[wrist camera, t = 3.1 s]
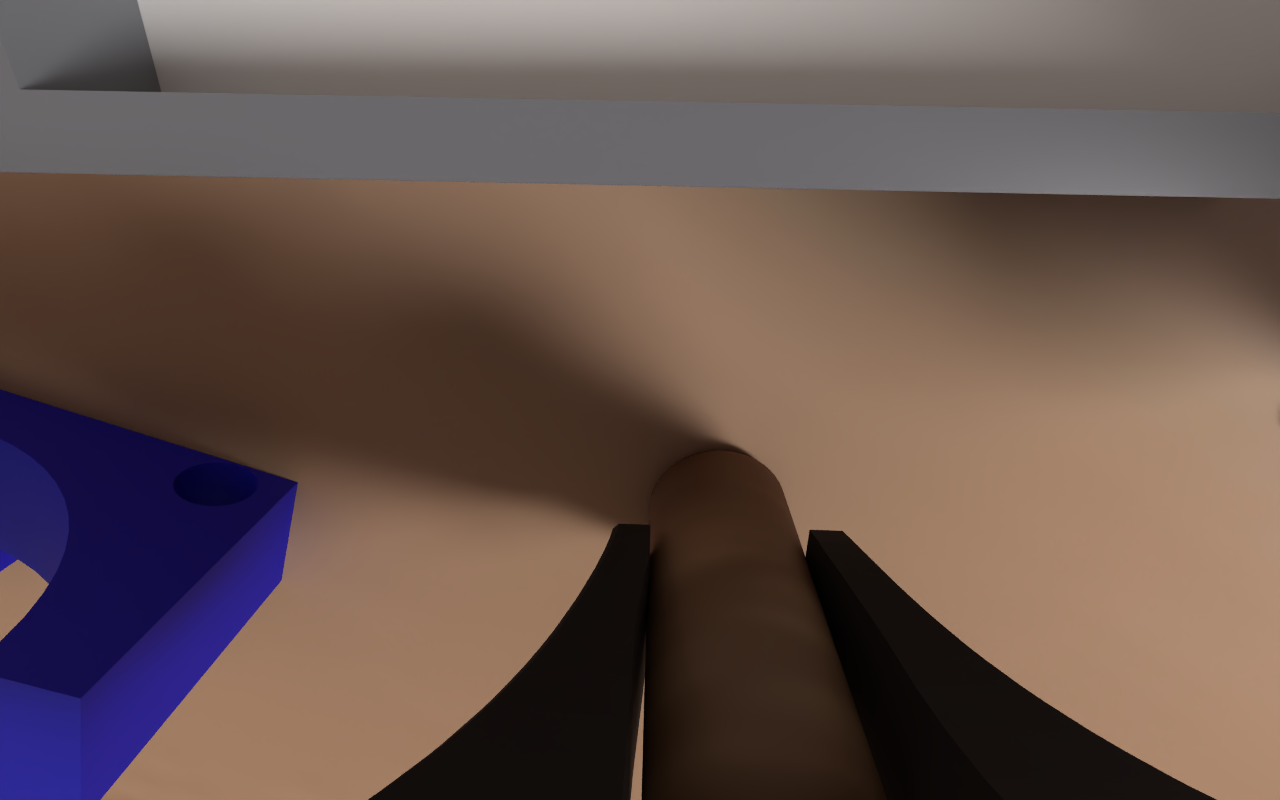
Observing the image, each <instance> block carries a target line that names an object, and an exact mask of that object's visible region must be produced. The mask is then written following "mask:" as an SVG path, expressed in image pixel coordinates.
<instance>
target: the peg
mask: <svg viewBox="0 0 1280 800" xmlns="http://www.w3.org/2000/svg"><path fill="white" fill-rule="evenodd" d="M649 525H651V527H650V569H649V596H648V605H647V618H646V654H645V692H644V730H643V769H642V800H887V798H886V795H885V792H884V789H883V786H882V783H881V780H880V777H879V774H878V771H877V768H876V765H875V762H874V759H873V756H872V754H871V751H870V748H869V745H868V742H867V739H866V736H865V733H864V730H863V727H862V724H861V721H860V718H859V715H858V712H857V709H856V706H855V703H854V700H853V697H852V694H851V691H850V688H849V685H848V682H847V679H846V676H845V674H844V671H843V668H842V665H841V662H840V659H839V656H838V653H837V650H836V647H835V644H834V641H833V638H832V635H831V632H830V629H829V626H828V623H827V620H826V617H825V614H824V611H823V608H822V605H821V602H820V599H819V596H818V594H817V591H816V588H815V585H814V582H813V579H812V576H811V573H810V570H809V567H808V564H807V561H806V558H805V555H804V552H803V549H802V546H801V543H800V540H799V537H798V534H797V531H796V528H795V525H794V522H793V519H792V517H791V514H790V511H789V508H788V505H787V502H786V499H785V496H784V493H783V490H782V488H781V485H780V483H779V481H778V480H777V478H776V477H775V475H774V474H773V473H772V472H771V471H770V470H769V469H768V468H767V467H766V466H765V465H763V464H762V463H760V462H759V461H757V460H756V459H753V458H751V457H749V456H747V455H744V454H741V453H736V452H732V451H708V452H702V453H698V454H694V455H692V456H689V457H687V458H685V459H683V460H681V461H679V462H677V463H676V464H675V465H673V466H672V467H670V468H669V469H668V470H667V471H666V472H665V473H664V474H663V475H662V477H661V478H660V479H659V481H658V482H657V484H656V485H655V488H654V490H653V492H652V495H651V499H650V506H649Z"/></svg>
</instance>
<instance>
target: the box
mask: <svg viewBox="0 0 1280 800" xmlns="http://www.w3.org/2000/svg"><path fill="white" fill-rule="evenodd" d="M0 172H18V173H66V174H114V175H162V176H211V177H259V178H307V179H355V180H403V181H451V182H499V183H547V184H595V185H643V186H691V187H739V188H787V189H835V190H883V191H931V192H979V193H1027V194H1075V195H1123V196H1172V197H1220V198H1268V199H1280V0H0Z"/></svg>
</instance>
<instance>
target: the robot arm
mask: <svg viewBox="0 0 1280 800" xmlns="http://www.w3.org/2000/svg"><path fill="white" fill-rule="evenodd" d="M650 527H651V525H637V524H618V525H617V526H616V527H614V528H613V530H612V533H611V536H610V539H609V541H608V543H607V546H606V548H605V550H604V552H603V554H602V556H601V558H600V560H599V562H598V564H597V565H596V567H595V569H594V571H593V572H592V574H591V576H590V577H589V579H588V581H587V582H586V584H585V586H584V587H583V589H582V591H581V592H580V594H579V596H578V597H577V599H576V600H575V601H574V603H573V604H572V606H571V607H570V609H569V610H568V611H567V613H566V614H565V616H564V617H563V618H562V620H561V621H560V623H559V624H558V626H557V627H556V628H555V630H554V631H553V632H552V633H551V635H550V636H549V637H548V639H547V640H546V641H545V642H544V644H543V645H542V646H541V647H540V648H539V650H538V651H537V652H536V653H535V654H534V655H533V657H532V658H531V659H530V660H529V661H528V662H527V664H526V665H525V666H524V667H523V668H522V669H521V670H520V671H519V672H518V673H517V674H516V675H515V676H514V677H513V679H512V680H511V681H510V682H509V683H508V684H507V685H506V686H505V687H504V688H503V689H502V690H501V691H500V692H499V693H498V694H497V695H496V696H495V697H494V698H493V699H492V700H491V701H490V702H489V703H488V704H487V705H486V706H485V707H484V708H483V709H482V710H480V711H479V712H478V713H477V714H476V715H475V716H474V717H472V718H471V719H470V720H469V721H468V722H467V723H466V724H464V725H463V726H462V727H461V728H460V729H459V730H458V731H456V732H455V733H454V734H453V735H452V736H451V737H450V738H448V739H447V740H446V741H445V742H444V743H443V744H442V745H440V746H439V747H438V748H437V749H435V750H434V751H433V752H432V753H431V754H429V755H428V756H427V757H425V758H424V759H423V760H421V761H420V762H419V763H417V764H416V765H415V766H413V767H412V768H411V769H409V770H408V771H407V772H405V773H404V774H403V775H401V776H400V777H399V778H397V779H396V780H395V781H393V782H392V783H391V784H389V785H388V786H386V787H385V788H384V789H382V790H381V791H380V792H378V793H377V794H375V795H374V796H373V797H371V798H370V799H368V800H630V799H631V788H632V776H633V767H634V759H635V751H636V743H637V735H638V727H639V719H640V711H641V703H642V695H643V686H644V678H645V654H646V618H647V605H648V596H649V569H650ZM806 561H807V564H808V567H809V570H810V573H811V576H812V579H813V582H814V585H815V588H816V591H817V594H818V596H819V599H820V602H821V605H822V608H823V611H824V614H825V617H826V620H827V623H828V626H829V629H830V632H831V635H832V638H833V641H834V644H835V647H836V650H837V653H838V656H839V659H840V662H841V665H842V668H843V671H844V674H845V676H846V679H847V682H848V685H849V688H850V691H851V694H852V697H853V700H854V703H855V706H856V709H857V712H858V715H859V718H860V721H861V724H862V727H863V730H864V733H865V736H866V739H867V742H868V745H869V748H870V751H871V754H872V756H873V759H874V762H875V765H876V768H877V771H878V774H879V777H880V780H881V783H882V786H883V789H884V792H885V795H886V798H887V800H1216V799H1214V798H1212V797H1210V796H1208V795H1206V794H1204V793H1202V792H1200V791H1198V790H1196V789H1194V788H1192V787H1190V786H1188V785H1186V784H1184V783H1182V782H1180V781H1178V780H1176V779H1174V778H1173V777H1171V776H1169V775H1167V774H1165V773H1163V772H1162V771H1160V770H1158V769H1156V768H1154V767H1153V766H1151V765H1149V764H1147V763H1145V762H1144V761H1142V760H1140V759H1138V758H1136V757H1134V756H1133V755H1131V754H1129V753H1127V752H1125V751H1124V750H1122V749H1120V748H1119V747H1117V746H1115V745H1113V744H1112V743H1110V742H1108V741H1107V740H1105V739H1103V738H1102V737H1100V736H1098V735H1096V734H1095V733H1093V732H1091V731H1090V730H1088V729H1086V728H1085V727H1083V726H1082V725H1080V724H1079V723H1077V722H1075V721H1074V720H1072V719H1071V718H1069V717H1068V716H1066V715H1064V714H1063V713H1061V712H1060V711H1058V710H1057V709H1055V708H1053V707H1052V706H1050V705H1049V704H1047V703H1045V702H1044V701H1043V700H1041V699H1040V698H1038V697H1037V696H1035V695H1034V694H1032V693H1031V692H1029V691H1028V690H1026V689H1025V688H1023V687H1022V686H1020V685H1019V684H1018V683H1016V682H1015V681H1014V680H1012V679H1011V678H1009V677H1008V676H1007V675H1005V674H1004V673H1003V672H1001V671H1000V670H998V669H997V668H996V667H994V666H993V665H992V664H990V663H989V662H987V661H986V660H985V659H983V658H982V657H981V656H980V655H978V654H977V653H976V652H974V651H973V650H972V649H971V648H969V647H968V646H967V645H966V644H964V643H963V642H962V641H961V640H960V639H958V638H957V637H956V636H955V635H954V634H952V633H951V632H950V631H949V630H948V629H946V628H945V627H944V626H943V625H942V624H940V623H939V622H938V621H937V620H936V619H934V618H933V617H932V616H931V615H930V614H929V613H928V612H927V611H925V610H924V609H923V608H922V607H921V606H920V605H919V604H918V603H917V602H915V601H914V600H913V599H912V598H911V597H910V596H909V595H908V594H907V593H906V592H905V591H904V590H902V589H901V588H900V587H899V586H898V585H897V584H896V583H895V582H894V581H893V580H892V579H891V578H890V577H889V576H888V575H887V574H886V573H885V572H884V571H883V570H882V569H881V568H880V567H879V566H878V565H877V564H876V563H875V562H874V561H872V560H871V559H870V558H869V557H868V556H867V555H866V554H865V553H864V552H863V551H862V550H861V549H860V548H859V547H858V546H857V545H856V544H855V543H854V542H853V541H852V540H851V539H850V538H849V537H848V536H847V535H846V534H845V533H844V532H843V531H829V530H810V532H809V538H808V545H807V551H806Z"/></svg>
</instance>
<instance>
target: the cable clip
mask: <svg viewBox="0 0 1280 800" xmlns="http://www.w3.org/2000/svg"><path fill="white" fill-rule="evenodd" d="M297 484H298V482H295V481H291V480H288V479H285V478H282V477H279V476H275V475H272V474H269V473H266V472H263V471H259V470H256V469H253V468H250V467H247V466H243V465H240V464H237V463H234V462H231V461H227V460H224V459H221V458H218V457H215V456H211V455H208V454H205V453H202V452H198V451H195V450H192V449H189V448H186V447H182V446H179V445H176V444H173V443H170V442H166V441H163V440H160V439H157V438H154V437H150V436H147V435H144V434H141V433H138V432H134V431H131V430H128V429H125V428H122V427H118V426H115V425H112V424H109V423H106V422H102V421H99V420H96V419H93V418H89V417H86V416H83V415H80V414H77V413H73V412H70V411H67V410H64V409H61V408H57V407H54V406H51V405H48V404H45V403H41V402H38V401H35V400H32V399H29V398H25V397H22V396H19V395H16V394H13V393H9V392H6V391H3V390H0V571H2V570H3V569H4V568H6V567H7V566H9V565H10V564H12V563H13V562H15V561H16V560H20V561H22V562H23V563H25V564H26V565H27V566H29V567H30V568H32V569H33V570H35V571H36V572H37V573H38V574H39V575H40V576H41V577H42V578H43V579H44V580H45V581H46V582H48V583H49V585H48V586H47V588H46V590H45V591H44V593H43V594H42V596H41V597H40V598H39V599H38V601H37V602H36V603H35V604H34V606H33V607H32V608H31V609H30V611H29V612H28V613H27V614H26V616H25V617H24V618H23V619H22V620H21V621H20V622H19V623H18V624H17V625H16V626H15V627H14V628H13V629H12V630H11V631H10V632H9V633H8V634H7V635H6V636H5V637H4V638H3V639H2V640H1V641H0V800H101V798H102V797H103V796H104V795H105V793H106V792H107V791H108V790H109V789H110V787H111V786H112V785H113V784H114V783H115V781H116V780H117V779H118V778H119V777H120V775H121V774H122V773H123V772H124V770H125V769H126V768H127V767H128V766H129V764H130V763H131V762H132V761H133V760H134V758H135V757H136V756H137V755H138V753H139V752H140V751H141V750H142V749H143V747H144V746H145V745H146V744H147V743H148V741H149V740H150V739H151V738H152V737H153V735H154V734H155V733H156V732H157V730H158V729H159V728H160V727H161V726H162V724H163V723H164V722H165V721H166V720H167V718H168V717H169V716H170V715H171V713H172V712H173V711H174V710H175V709H176V707H177V706H178V705H179V704H180V703H181V701H182V700H183V699H184V698H185V697H186V695H187V694H188V693H189V692H190V690H191V689H192V688H193V687H194V686H195V684H196V683H197V682H198V681H199V680H200V678H201V677H202V676H203V675H204V673H205V672H206V671H207V670H208V669H209V667H210V666H211V665H212V664H213V663H214V661H215V660H216V659H217V658H218V657H219V655H220V654H221V653H222V652H223V650H224V649H225V648H226V647H227V646H228V644H229V643H230V642H231V641H232V640H233V638H234V637H235V636H236V635H237V633H238V632H239V631H240V630H241V629H242V627H243V626H244V625H245V624H246V623H247V621H248V620H249V619H250V618H251V616H252V615H253V614H254V613H255V612H256V610H257V609H258V608H259V607H260V606H261V604H262V603H263V602H264V601H265V600H266V598H267V597H268V596H269V595H270V593H271V592H272V591H273V590H274V589H275V587H276V586H277V585H278V584H279V583H280V581H281V579H282V573H283V567H284V561H285V555H286V549H287V543H288V537H289V531H290V525H291V520H292V514H293V508H294V502H295V496H296V490H297Z"/></svg>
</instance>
